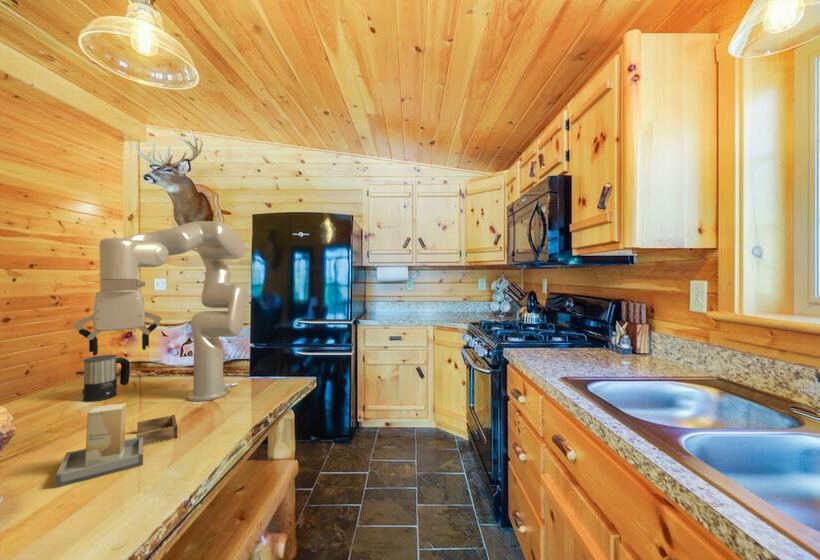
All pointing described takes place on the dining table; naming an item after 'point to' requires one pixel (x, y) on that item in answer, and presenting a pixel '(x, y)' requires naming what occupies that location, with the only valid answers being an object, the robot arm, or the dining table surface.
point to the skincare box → (105, 434)
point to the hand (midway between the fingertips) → (120, 351)
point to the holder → (157, 434)
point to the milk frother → (103, 377)
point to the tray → (77, 471)
